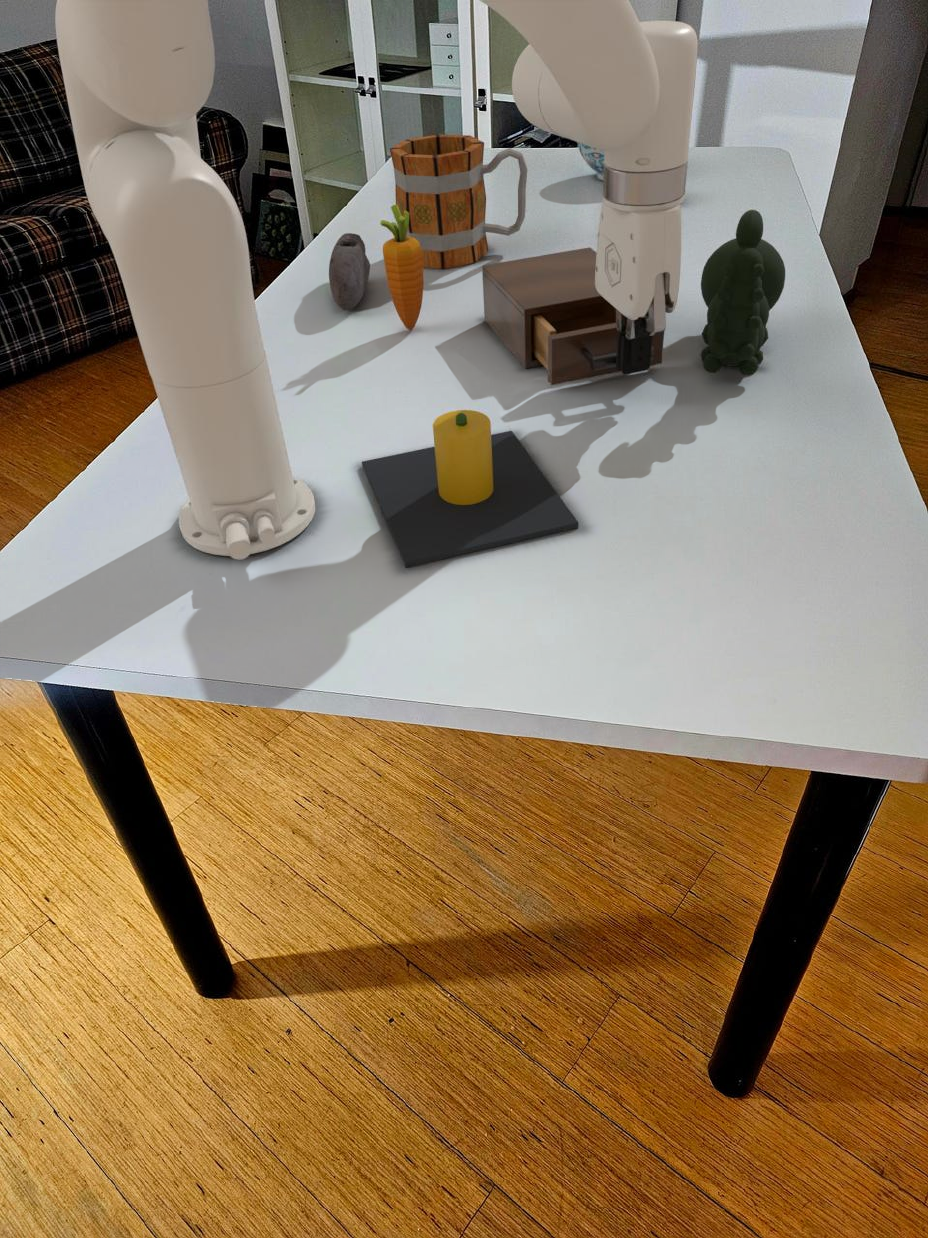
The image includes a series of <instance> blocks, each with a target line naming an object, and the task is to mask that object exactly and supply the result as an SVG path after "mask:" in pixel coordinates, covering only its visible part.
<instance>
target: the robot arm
mask: <svg viewBox="0 0 928 1238" xmlns="http://www.w3.org/2000/svg"><path fill="white" fill-rule="evenodd" d="M479 1H480V2H481V3H483V4H484V5H486V6H487V7H488V8H491V9H492V10H493V11H494V12H496V13H497V14H498V15H500V16H501V17H502V18H503V19H505V21H507V22H508V23H509V24H510V25H511V26H512V27H513V28H514V29H515V30H516V31H517V32H518V33H519V34H520V35H521V36H522V37H523V38H524V39H525V41H526V42H527V43H528V45H527V46H526V47H525V48H524V49H523V50H522V52H520V54H519V56H518V58H517V60H516V63H515V64H514V66H513V67H514V68H513V71H512V76H511V92H512V96H513V97H512V98H513V101H514V104H515V105H516V107H517V109H518V111H519V112H520V114H521V115H522V116H523V117H524V119H525V120H527V121H528V122H529V123H530V124H531V125H532V126H534V127H536V128H537V129H539V130H542V131H544V132H547V133H549V134H552V135H555V136H558V137H561V138H564V139H568V140H570V141H574V142H575V143H577V142H579V143H582V144H584V145H587V146H589V147H592V148H595V149H599V150H604V176H603V180H602V203H601V210H600V215H599V222H598V230H597V231H598V232H597V240H596V252H597V253H596V268H595V287H596V290H597V291H598V293H599V294H600V295H601V296H602V297H603V298H604V299H606V300H607V301H608V302H609V303H610V304H611V305H612V306H614V307H615V308H616V327H617V330H618V331H622V332H620V333H618V334H617V355H616V367H617V368H618V369H619V370H620V373H621V374H622V375H624V376H625V375H630V374H635V373H639V372H640V373H641V372H644V371H648V370H650V368H651V365H650V362H651V349H652V335H654V334H655V332H660V331H664V332H665V331H666V329H667V316H666V314H671V313H673V312H674V310H675V309H676V307H677V303H678V299H679V291H680V290H679V289H680V281H681V264H682V207H681V204H683V203H684V201H685V196H686V186H687V175H688V174H687V173H688V165H689V164H688V163H689V162H688V161H689V149H690V138H691V129H692V117H693V109H694V108H693V105H694V98H695V97H694V96H695V85H696V84H695V83H696V73H697V61H698V48H699V41H698V36H697V32H696V31H695V29H694V28H693V27H692V25H690V24H688V23H685V22H682V21H675V20H650V21H649V20H647V21H640V20H639V19H638V16H637V15H636V12H635V10H634V8H633V6H632V4H631V2H630V0H479ZM208 2H209V1H208V0H56V5H55V14H54V19H55V20H54V21H55V25H54V26H55V35H56V45H57V50H58V51H57V52H58V57H59V64H60V66H61V73H62V79H63V85H64V89H65V94H66V101H67V105H68V110H69V115H70V120H71V121H70V122H71V125H72V131H73V136H74V141H75V147H76V152H77V156H78V157H77V158H78V161H79V167H80V171H81V177H82V180H83V185H84V190H85V194H86V197H87V200H88V203H89V206H90V208H91V211H92V213H93V215H94V217H95V219H96V221H97V223H98V224H99V226H100V228H101V231H102V233H103V234H104V236H105V238H106V240H107V242H108V244H109V246H110V249H111V252H112V254H113V257H114V261H115V263H116V265H117V269H118V272H119V275H120V278H121V281H122V284H123V288H124V291H125V295H126V298H127V302H128V306H129V309H130V314H131V316H132V320H133V324H134V327H135V331H136V333H137V337H138V340H139V341H138V342H139V345H140V347H141V351H142V355H143V357H144V360H145V364H146V366H147V369H148V373H149V376H150V378H151V380H152V384H153V387H154V390H155V393H156V397H157V399H158V403H159V406H160V408H161V409H160V410H161V413H162V416H163V419H164V423H165V425H166V429H167V433H168V436H169V438H170V442H171V445H172V448H173V451H174V454H175V455H174V456H175V459H176V460H177V464H178V467H179V470H180V474H181V477H182V480H183V483H184V486H185V490H186V493H187V496H188V500H187V502H185V504H183V507H182V508H181V510H180V511H179V516H178V526H179V530H180V532H181V535H182V537H183V539H184V540H185V542H186V543H187V544H189V545H190V546H191V547H193V549H196V550H199V551H200V552H203V553H207V554H209V555H215V556H223V557H230V558H232V559H234V560H237V561H239V560H240V561H241V560H245V559H247V558H248V557H249V556H250V555H254V554H258V553H262V552H267V551H269V550H271V549H274V548H277V547H280V546H282V545H284V544H285V543H288V542H289V541H291V540H293V539H294V538H295V537H297V536H298V535H300V534H301V533H302V532H303V531H304V530H305V529H306V528H307V527H308V526H309V524H311V522H312V521H313V519H314V516H315V513H316V501H315V497H314V493H313V491H312V489H311V488H310V486H308V485H307V484H306V483H305V482H303V481H302V480H300V479H298V478H297V477H294V476H293V472H292V469H291V464H290V459H289V455H288V450H287V445H286V441H285V440H286V439H285V437H284V431H283V426H282V422H281V418H280V412H279V408H278V404H277V399H276V395H275V390H274V386H273V381H272V375H271V371H270V368H269V363H268V362H269V361H268V358H267V353H266V349H265V346H264V345H265V344H264V341H263V336H262V331H261V327H260V323H259V322H260V321H259V318H258V316H259V315H258V311H257V307H256V301H255V300H256V299H255V295H254V289H253V281H252V271H251V260H250V252H249V251H250V250H249V243H248V237H247V233H246V227H245V225H244V221H243V218H242V214H241V212H240V208H239V207H238V204H237V202H236V200H235V198H234V195H232V193H231V191H230V189H229V187H228V186H227V184H226V183H225V181H224V180H223V179H222V177H220V175H219V174H218V173H217V172H216V171H215V170H214V168H212V167H211V166H210V165H209V164H208V163H207V162H205V161H204V160H203V158H202V156H201V147H200V139H199V130H198V121H197V113H198V112H199V111H200V110H201V109H203V107H204V105H205V104H206V102H207V100H208V99H209V96H210V94H211V91H212V88H213V84H214V77H215V71H216V57H215V56H216V55H215V44H214V37H213V31H212V23H211V16H210V9H209V3H208ZM645 316H647V317H645Z"/></svg>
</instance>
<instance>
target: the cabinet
mask: <svg viewBox="0 0 928 1238" xmlns="http://www.w3.org/2000/svg"><path fill="white" fill-rule="evenodd" d="M596 253H597V251H595V250H594V249H593V248H592V247H590V246H589V247H583V248H577V249H572V250H565V251H560V252H559V251H558V252H553V253H549V254H543V255H542V254H541V255H537V256H530V257H524V258H519V259H514V260H513V259H512V260H507V261H501V262H495V263H489V264H483V265H481V271H482V293H483V295H482V297H483V316H484V318H483V319H484V321H485V323H486V324H487V325H488V326H489V328H491V330H492V331H493V332H494V333H495V334H496V336H497V338H499V340H501V341H502V343H503V344H504V345H505V346H506V348H507V349H508V350H509V351H510V352H511V353H512V354H513V356H514V357H515V358H516V359H517V361H518V362H519V363H520V364H521V365H522V367H524V369H531V368H535V367H542V366H543V364H542V363H541V362H540V361H539V360H538V359H537V358H536V357H535V355H534V354H533V353H532V349H531V315H533V314H539V313H544V312H550V311H555V310H561V309H566V308H572V307H577V306H583V305H588V304H594V303H599V302H605V301H607V300H606V299H604V298H603V297H602V296H601V295H600V294H599V293H598V291H597V290H596V287H595V268H596Z"/></svg>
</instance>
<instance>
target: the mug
mask: <svg viewBox="0 0 928 1238" xmlns="http://www.w3.org/2000/svg"><path fill="white" fill-rule="evenodd" d="M389 151H390V156H391V157H390V158H391V160H392V165H393V173H394V174H393V175H394V182H395V185H394V186H395V205H397V206H398V208H399V210H400V212H401V215H402V217H404V211H407V212H408V213H409V224H408V230H407V234H406V236H407V237H413V238H415V239H417V240H418V242H419V244H420V246H421V249H422V260H423V268H425V269H435V270H436V269H438V270H445V269H451V268H455V267H461V266H466V265H470V264H476V263H477V262H478V261H479V260H481V258H483V256H485V255H486V254H487V253H488V252H489V246H488V239H487V233H490V234H496V235H497V234H498V235H501V236H507V237H509V236H511V235H514V234H516V233H518V232H519V231H520V230H521V227H522V225H523V223H524V221H525V218H526V210H527V209H526V207H527V206H526V205H527V196H526V195H527V180H528V171H529V170H528V166H527V164H526V163H527V162H526V161H525V157H524V154H523V153H522V152H520V151H518V150H515V149H513V148H510V147H507V148H506V149H504V150H501V151H499V152H497V154H496V155H495V156H494V158H492V160H491V161H490V162H489V163H488V164H484V153H485V152H484V151H485V142H484V141H482V140H480V139H479V138H476V137H474V136H473V135H469V134H432V135H427V136H421V137H414V138H408V139H404V140H403V141H401V142H399V143H397V144H396V145H394V146H392V147H390V148H389ZM509 157H511V158H514V159H516V160H517V162H518V167H519V179H518V184H517V185H518V186H517V216H516V220H515V222H514V224H512V225H510V226H508V227H506V226H503V225H500V224H495V223H486V211H487V194H486V193H487V192H486V185H485V179H484V175H485V174H490V173H493V171H495V170H496V169H497V168H498V166H499V165H500V163H502V161H503V160H505V159H507V158H509Z"/></svg>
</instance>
